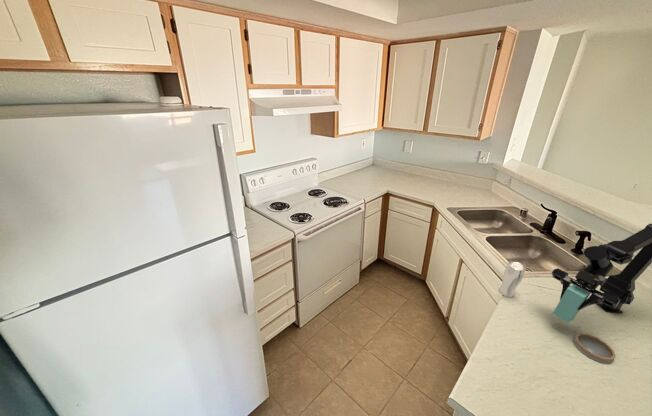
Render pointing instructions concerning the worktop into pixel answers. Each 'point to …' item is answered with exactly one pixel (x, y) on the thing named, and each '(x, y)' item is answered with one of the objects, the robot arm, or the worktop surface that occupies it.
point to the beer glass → (511, 278)
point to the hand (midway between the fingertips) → (569, 304)
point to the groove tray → (594, 348)
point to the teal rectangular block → (570, 303)
